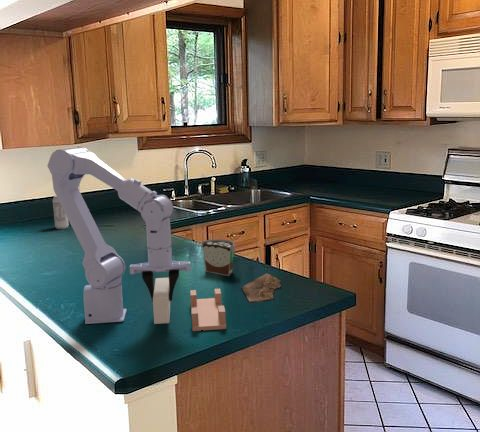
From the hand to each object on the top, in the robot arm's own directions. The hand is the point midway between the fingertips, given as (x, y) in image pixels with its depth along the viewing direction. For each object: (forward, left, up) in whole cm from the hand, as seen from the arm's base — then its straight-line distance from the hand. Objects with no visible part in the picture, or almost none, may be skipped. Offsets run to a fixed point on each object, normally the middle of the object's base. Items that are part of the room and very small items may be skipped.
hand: (162, 299), depth 131 cm
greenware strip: (0, 0, -3) cm, 3 cm away
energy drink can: (-50, +122, -6) cm, 132 cm away
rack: (+11, +3, -6) cm, 13 cm away
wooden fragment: (+28, +22, -7) cm, 36 cm away
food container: (+18, +40, -6) cm, 44 cm away
